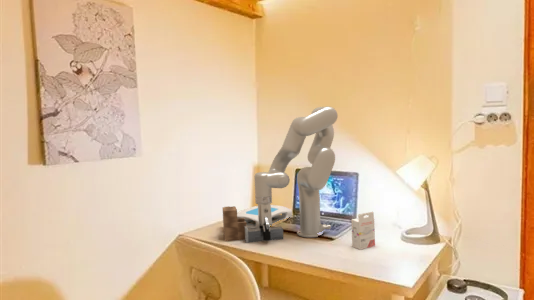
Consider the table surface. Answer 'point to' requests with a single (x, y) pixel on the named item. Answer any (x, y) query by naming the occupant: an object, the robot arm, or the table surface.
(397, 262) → the table surface
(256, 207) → the white step stool
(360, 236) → the ink cartridge box
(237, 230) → the brown stepped block
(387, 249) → the table surface
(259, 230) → the grey rectangular block
